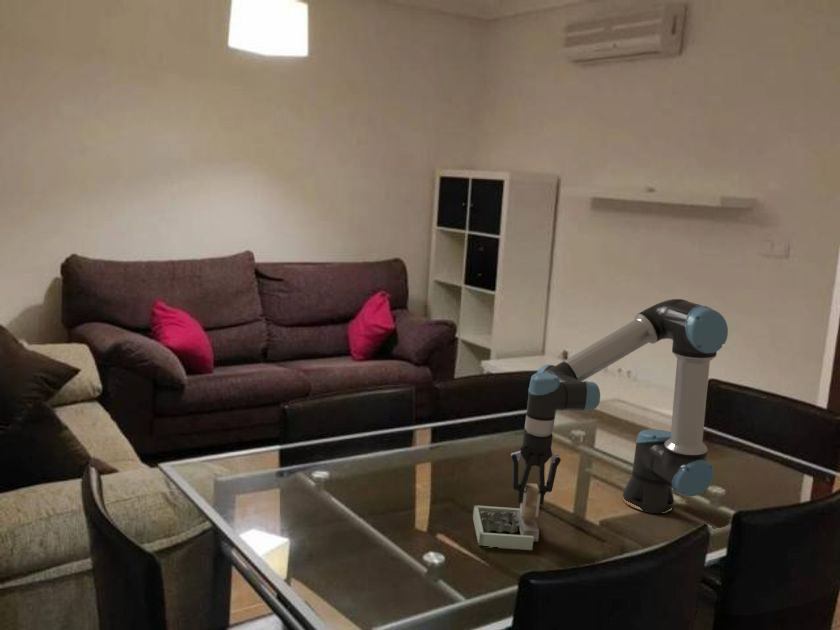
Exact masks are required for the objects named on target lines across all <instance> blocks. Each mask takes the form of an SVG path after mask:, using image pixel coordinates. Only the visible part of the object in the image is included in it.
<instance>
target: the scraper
mask: <svg viewBox="0 0 840 630" xmlns="http://www.w3.org/2000/svg"><path fill="white" fill-rule="evenodd" d="M525 490H526V493H527V495H526V504H525V513H524V516H521V514H520V510H517V517H518V520H519V524H520V526H519V525H518V531H519V532H520V533H519V534H520V535H527V536H533V537H534V540H533V543H534V542H536V543H537V542H539V537H540V536H539V535H540V529H539V527H538V524H537V522H536V517H535V515H536V506H537V498H538V490H539V485H538V484H537V483H531V482H529V483H528V482H527V483H526V487H525Z"/></svg>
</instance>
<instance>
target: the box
mask: <svg viewBox="0 0 840 630" xmlns="http://www.w3.org/2000/svg"><path fill="white" fill-rule="evenodd" d="M482 510H490V511H502V512H505V511H506V512H513V511H516V514H517V510H520V507H519V508H517V507H505V506H504V507H501V506H491V505H490V506H489V505H473V510H472V511H473V512H472V519H473V524H474V530H475V534H476V539H477V543H479V545H483V546H489V547H488V548H493V547H498V549H509V550H510V549H511V550H524V551H525V550H526V551H527V550H528V551H533V546H534V542H533V540H534V537H533V536H527V535H521V534H513V533H509V534H507V533H498V532H496V533H495V532H494V533H493V532H485V531H484V530H483V527H482V523H481V519H480V514H479V512H481V511H482ZM479 545H478V546H479Z"/></svg>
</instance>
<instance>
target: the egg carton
mask: <svg viewBox="0 0 840 630" xmlns="http://www.w3.org/2000/svg"><path fill="white" fill-rule="evenodd" d="M479 514H480V519H481V523H482V527H483V532H485V533H491V531H496V533H503V532H507V533H509V534H514V533H517V532H518V531H519V527H518V525H519V526H520V524H519V520H518V517H517V514H516V511H513V512H506V511H505V512H502V511H490V510H482V511H481V512H479Z"/></svg>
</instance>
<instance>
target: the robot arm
mask: <svg viewBox="0 0 840 630" xmlns="http://www.w3.org/2000/svg"><path fill="white" fill-rule="evenodd" d="M728 327H729V326H728V324H727V321H726V319H725V318H724V316H723V315H722V314H721V313H720V312H719V311H718V310H715V309H713V308H712V307H709V306H708V305H702V304H699V303H695V302H691V301H689V300H686V299H683V298H673V299H667V300H665V301H661V302H659V303H658V302H657V303H656V304H654V305H651V306H650V307H648V308H645V309H644V310H642V311H641V312H638V313H637V314H635V315H634V320H632V321H630V322H629V323H627V324H625V325H624V326H621V327H620V328H619V329H616V330H615V331H613V332H611V333H610V334H608V335H606V336H604V337H603V338H601V339H599V340H597V341H596V342H594V343H593V344H591V345H590V346H588V347H586V348H584V349H582V350H581V351H579V352H577V353H575V354H574V355H572V356H570V357H568V358H567V359H565V360H563V361H562V362H560V363H558V364H556V365H554V364H545V365H542V366H541V367H540V368H538V370H537V372H536V373H534V374H533V375H531V377H530V381H529V387H528V394H527V395H528V398H527V402H526V403H527V406H526V415H525V423H524V429H525V430H523V437H522V438H523V440H522V445H521V448H520V449H519V451H510V456H511V459H512V470H511V471H512V472H511V475H512V476H511V477H512V478H511V480H512V481H511V485H512V488H513V490H514V491H515V490H516V491H517V502H518V504H520V506H519V509H520V514H521V516H524V513H525V504H526V495H527V493H526V490H525V487H526V483H528V479H529V476H530V473H531V470H532V468H533V467H534V466H536V467H537V471H538V472H537V473H538V474H537V475H538V488H539V489H538V498H537V506H536V515H535V518H538V517H539V511H540V505H543V504H544V502H545V496H546V493H551V492H552V491H553V487H554V483H555V478H556V473H557V469H558V466H559V464H560V463H561V462H562V461H561V457H560V456H559V454H554V453H553V451H552V444H553V438H554V437H553V433H554V428H555V427H554V426H555V420H556V419H555V418H556V413H557V411H589V410H590V411H591V410H595V409H596V408H598V407H599V404H600V401H601V391H600V388H599V386H598V384H597V383H596V382H594V381H587V379H589V378H590V377H592V376H594V375H595V374H597V373H599V372H601V371H602V370H604V369H606V368H608V367H609V366H611V365H613V364H614V363H616V362H619V361H620V360H621V359H623V358H625V357H626V356H628V355H630V354H631V353H633V352H635V351H637V350H638V349H640V348H642V347H643V346H645V345H647V344H648V343H649V344H653V345H654V344H656V343H657V342H659V341H661V340H666V339H667V340H669V339H670V340H672V346H671V347H672V349H671V352H672V354H673V355H674V356H675V357H676V367H675V368H676V371H675V380H674V381H675V383H674V393H673V394H674V395H673V402H672V403H673V405H672V413H671V414H672V415H671V428H670V431H669V430H665V429H664V430H663V429H652V428H651V429H650V428H649V429H643V430H641V431H639V433H637V437H636V441H635V451H634V459H633V465H632V472H631V476H630V478H629V480H628V482H627V483H626V485H625V488H624V489H623V493H622V497H624V499H625V500H626V501H628V502H630V503H632V504H634V505H636V506H638V507H640V508H641V509H642V510H643V511H647V512H649V513H648V514H652V513H662V512H665V511H667V510H669V509H671V508H672V507H673V506H674V505H675V498H674V493H673V491H675V492H676V493H679V494H681V495H682V496H685V497H696V496H698V495H700V494H702V493H704V492H705V490H706V489H708V488H709V487H710V485H711V484H712V483H713V480H714V476H715V470H714V467H713V465H712V464H711V462H709V461H708V459H707V457H708V447H707V445H706V444H705V443H704V442H703V437H704V428H705V417H706V407H707V398H708V397H707V395H708V385H709V376H710V364H711V361H712V360H713V359H715V358H716V357H717V352H718V351H720V350H721V349H722V348H723V345H725V343H726V342H727V339H728V334H729V329H728ZM521 457H522V458H523V460H524V465H523V470H522V473H521V477H520V480H519V461H520V460H521ZM549 459H550V466H549V471H548V474H547V480H546V483H545V478H546V477H545V470H546V469H545V464H546V463H547V462H548V461H549ZM674 507H675V506H674ZM674 507H673V508H674Z"/></svg>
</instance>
